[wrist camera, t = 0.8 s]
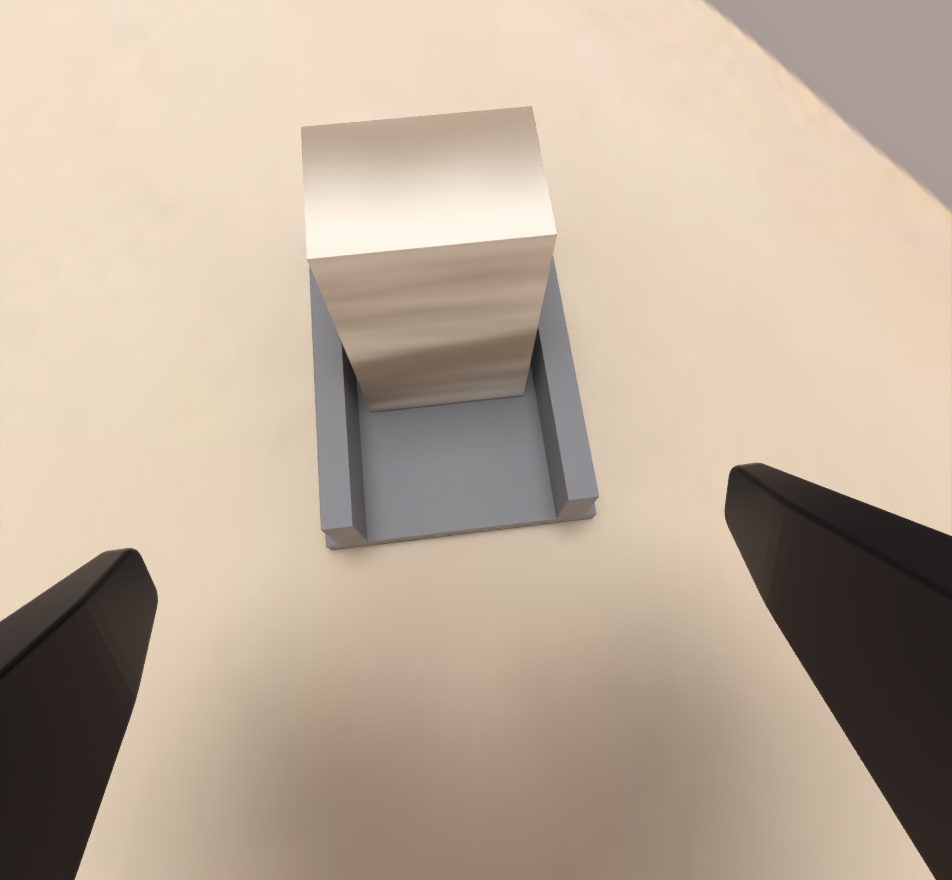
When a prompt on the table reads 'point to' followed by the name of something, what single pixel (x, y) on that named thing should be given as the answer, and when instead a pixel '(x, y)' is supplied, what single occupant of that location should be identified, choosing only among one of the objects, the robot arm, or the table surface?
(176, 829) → the table surface
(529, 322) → the cream block
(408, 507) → the gray chute
